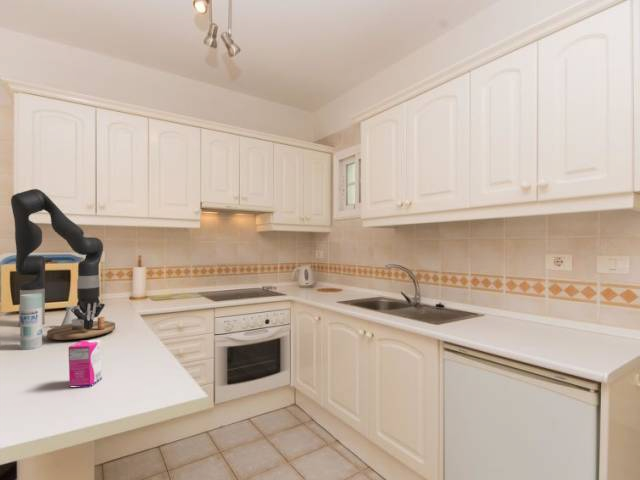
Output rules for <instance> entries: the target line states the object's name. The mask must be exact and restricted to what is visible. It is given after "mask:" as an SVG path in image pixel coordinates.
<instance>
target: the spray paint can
mask: <svg viewBox="0 0 640 480" xmlns="http://www.w3.org/2000/svg"><path fill="white" fill-rule="evenodd" d="M19 306H20V325H19V327H20V329H19V330H20V331H19V332H20V334H19V336H20V347H19V348H20V350H22V351H30V350H36V349H39V348H41V347H42V345H43V324H42V294H40V293H36V294H25V295H21V296H20V295H19Z"/></svg>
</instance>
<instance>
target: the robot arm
mask: <svg viewBox="0 0 640 480" xmlns="http://www.w3.org/2000/svg"><path fill="white" fill-rule="evenodd" d="M10 206H11V208H12V209H11V210H12V214H13V218H14V219H13V220H14V241H15V248H16V253H15V254H16V255H15V270H16V274H17V275H19V276H36V277H34V278H33V279H31V280H28V281H24V282H22V283H20V285H19V297H20V296H21V295H25V294H36V293H40V294H42V325H44V324H45V323H46V322H45V321H46V319H45V318H46V317H45V316H46V315H45V314H46V312H45V311H46V309H45V307H46V306H45V304H46V300H45V299H46V296H45V292H46V291H45V290H46V288H45V287H46V285H45V282H46V281H45V279H46V278H45V276H46V275H45V274H46V259H45V256H43V255H30V254H32V253H33V252H35V251H36V250H37V249H38V248H39V247H40V246H41V245H42V242H43V230H42V229H41V227H40V226H39V225H38V224H37V223H35V222H33V221H31V220H30V215H33V214H37V213H39V212H42V211H45V212H47V213H48V214H49V216H50V222H51V223H50V224H51V227H52V229H53V231H54V232H55V233H56V234H58V236H60V237H61V238H63V240H65V241H66V243H67V244H68V245H69V246H70V248H71V249H72V250H73V252H75V253H76V254H79V255H83V256H85V257H84V260H82V261H79V262H78V264H77V265H78V266H77V281H76V282H77V283H76V285H77V287H76V289H77V291H76V293H77V294H76V298H77V302H76V306H75V307H74V308H72V309H71V311H72V312H73V313H74V314H75V316H76V318H78V319H80V320H84V328H85V329H86V330H89V329H92V327H93V321H94V319H95V318H99V316H100V314H101V312H102V310H104V307H105V306H106V304H105V303H102V302H101V301H100V299H99V298H100V297H101V295H100V294H101V293H100V289H101V288H100V285H101V284H100V282H101V281H100V280H101V279H100V266H99V265H100V262H101V259H102V256H103V252H104V245H103V244H104V243H103V242H102V240H101V239H100V238H98V237H93V236H91V237H90V236H89V237H87V236H84V234H85V232H84V230H83V229H82V228H81V227H80V226H79V225H77V224H76V223H75V222H74V221H72V220H71V219H70V218H68V217H67V215H65V214H64V213H63V212H62V210H61V209H60V208H59V207H58V206H57V205H56V204H55V203H54V201H53V200H51V198H50V197H49V196H48V195H47V194H46V193H45V192H43V191H42V190H40V189H37V188H33V189H29V190H26V191H22V192H17V193H15V194H13V195H12V196H11V198H10ZM18 307H19V308H18V323H19V324H18V326H20V305H19V306H18Z"/></svg>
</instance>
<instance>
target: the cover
mask: <svg viewBox="0 0 640 480" xmlns="http://www.w3.org/2000/svg"><path fill="white" fill-rule="evenodd" d="M82 329H85V328H84V320H80V319H78V318H77V317H76V319H72V330H82Z"/></svg>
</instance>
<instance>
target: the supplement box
mask: <svg viewBox="0 0 640 480" xmlns="http://www.w3.org/2000/svg"><path fill="white" fill-rule="evenodd" d="M101 343H102V341H101V339H94V340H93V339H91V340H90V339H89V340H80V341H78V342H76V343H74V344H72V345H70V346H68V369H69V370H68V373H69V374H68V375H69V379H68V380H69V387H70V386H91V385H92V384H94V383H95V382H96V381H98V380H99V379H101V378H102V379H103V374H102V344H101ZM102 379H101V380H102ZM98 382H99V381H98ZM95 384H96V383H95ZM95 384H94V385H95ZM91 387H92V386H91Z"/></svg>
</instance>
